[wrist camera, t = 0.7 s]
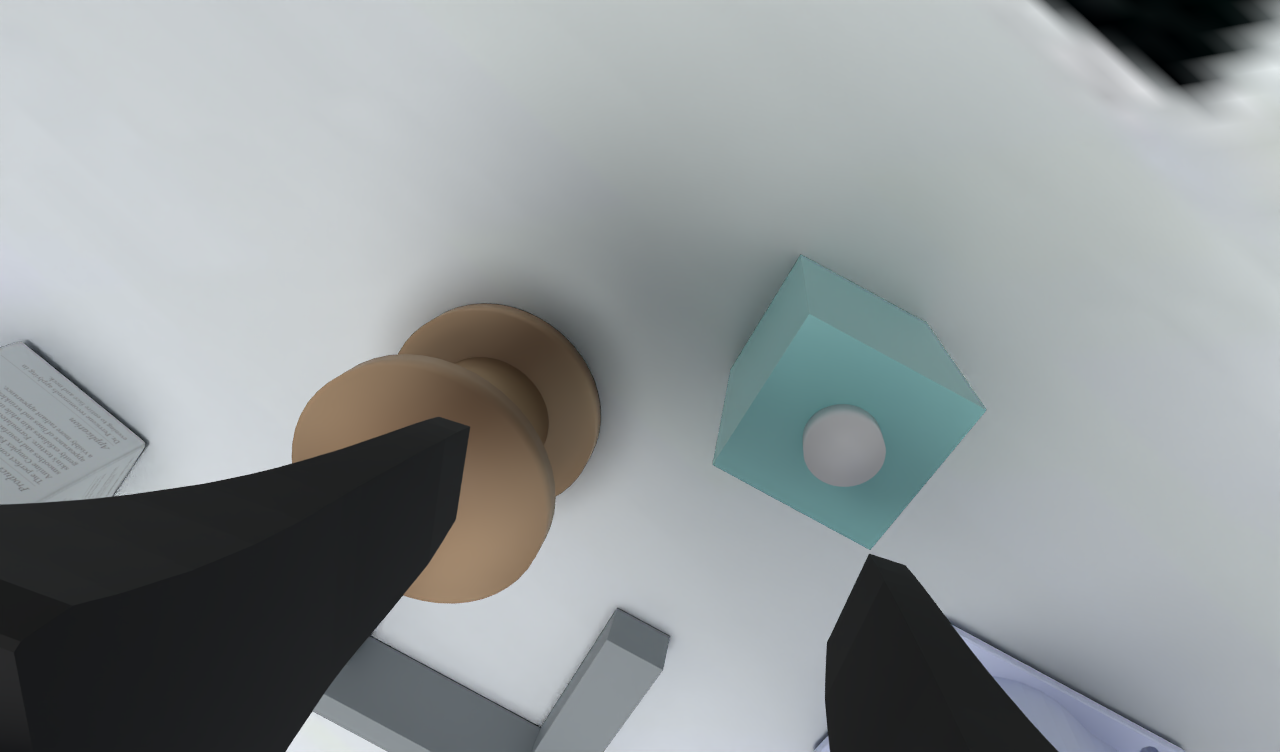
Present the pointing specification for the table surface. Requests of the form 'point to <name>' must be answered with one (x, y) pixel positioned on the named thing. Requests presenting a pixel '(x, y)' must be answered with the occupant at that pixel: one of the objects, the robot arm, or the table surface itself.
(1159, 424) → the table surface
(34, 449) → the skincare box
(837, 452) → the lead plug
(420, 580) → the spool
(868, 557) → the robot arm
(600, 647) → the gray u-shaped block
